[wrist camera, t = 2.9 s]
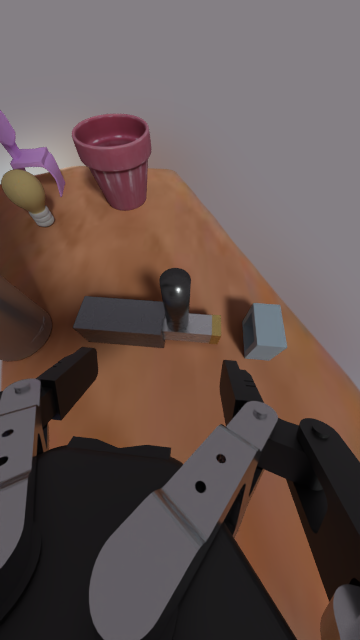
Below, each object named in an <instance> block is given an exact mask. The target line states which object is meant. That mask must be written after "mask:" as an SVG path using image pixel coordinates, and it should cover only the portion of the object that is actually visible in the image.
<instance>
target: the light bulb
mask: <svg viewBox="0 0 360 640" xmlns="http://www.w3.org/2000/svg"><path fill="white" fill-rule="evenodd" d="M1 185H2V188H3V191H4V192H5V194H6V195H7V197H8V198H9V199H10V200H11V201H12V202H13V203H14V204H16V205H17V206H19V207H21V208H23V209H25V210H27V211H29V214H30V215H31V216H32V218H33V219H34V221H35V222H36V223H37V225H39V226H42V227H47V226H50V225H52V224H53V222H54V217H53V215H52V214H51V212H50V211H49V209H48V207H47V206H46V205H45V191H44V189H43V186H42V184H41V183H40V182H39V180H38V179H37V178H36V177H35V176H33V175H32V174H30V173H29V172H26V171H24V170H19V169H14V170H10V171H8V172H7V173H5V175H4V176H3V178H2V180H1Z"/></svg>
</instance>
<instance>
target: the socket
mask: <svg viewBox="0 0 360 640" xmlns="http://www.w3.org/2000/svg"><path fill="white" fill-rule="evenodd" d="M242 324H243V340H244V357H245V358H247V359H259V360H270V359H272V358H273V357H275V356H276V355H278V354H279V353H280V352H282V351H283V350H285V349H286V348H287V343H286V337H285V331H284V325H283V319H282V314H281V308H280V305H273V304H259V303H253V305H252V306H251V308H250V310H249V311H248V313H247V315H246V316H245V318H244V320H243V321H242Z"/></svg>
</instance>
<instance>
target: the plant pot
mask: <svg viewBox="0 0 360 640" xmlns="http://www.w3.org/2000/svg"><path fill="white" fill-rule="evenodd" d="M72 138H73V141H74V144H75V147H76V149H77V152H78V154H79V157H80V159H81V161H82V162H83V163H84V164H85V165H86V166H88V167H89V169H90V170H91V172H92V174H93V176H94V178H95V179H96V181H97V183H98V185H99V187H100V188H101V190H102V192H103V194H104V195H105V197H106V199H107V201H108V202H109V204H110V205H111V206H112V207H113V208H115V209H118V210H132V209H135V208H138V207H140V206H141V205H142V204H143V203H144V202H145V200H146V192H147V168H148V158H149V156H150V154H151V141H150V134H149V128H148V125H147V123H146V122H145V121H144V120H143V119H141V118H139V117H136V116H133V115H127V114H105V115H98V116H94V117H91V118H88V119H85V120H83V121H81V122H80V123H78V124H77V125H76V126H75V127H74V129H73V131H72Z"/></svg>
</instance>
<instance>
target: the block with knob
mask: <svg viewBox="0 0 360 640" xmlns="http://www.w3.org/2000/svg"><path fill="white" fill-rule="evenodd" d="M159 281H160V288H161V293H162V299H163V305H164V311H165V314H164V321H163V328H162V335H163V339H165V340H177V341H189V342H201V343H209V344H218V342H219V339H220V337H221V315H202V314H189V303H190V284H191V278H190V275H189V274H188V273H187V272H186V271H185V270H183V269H179V268H171V269H168V270H166V271H165V272H163V273H162V275H161V276H160V280H159Z"/></svg>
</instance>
